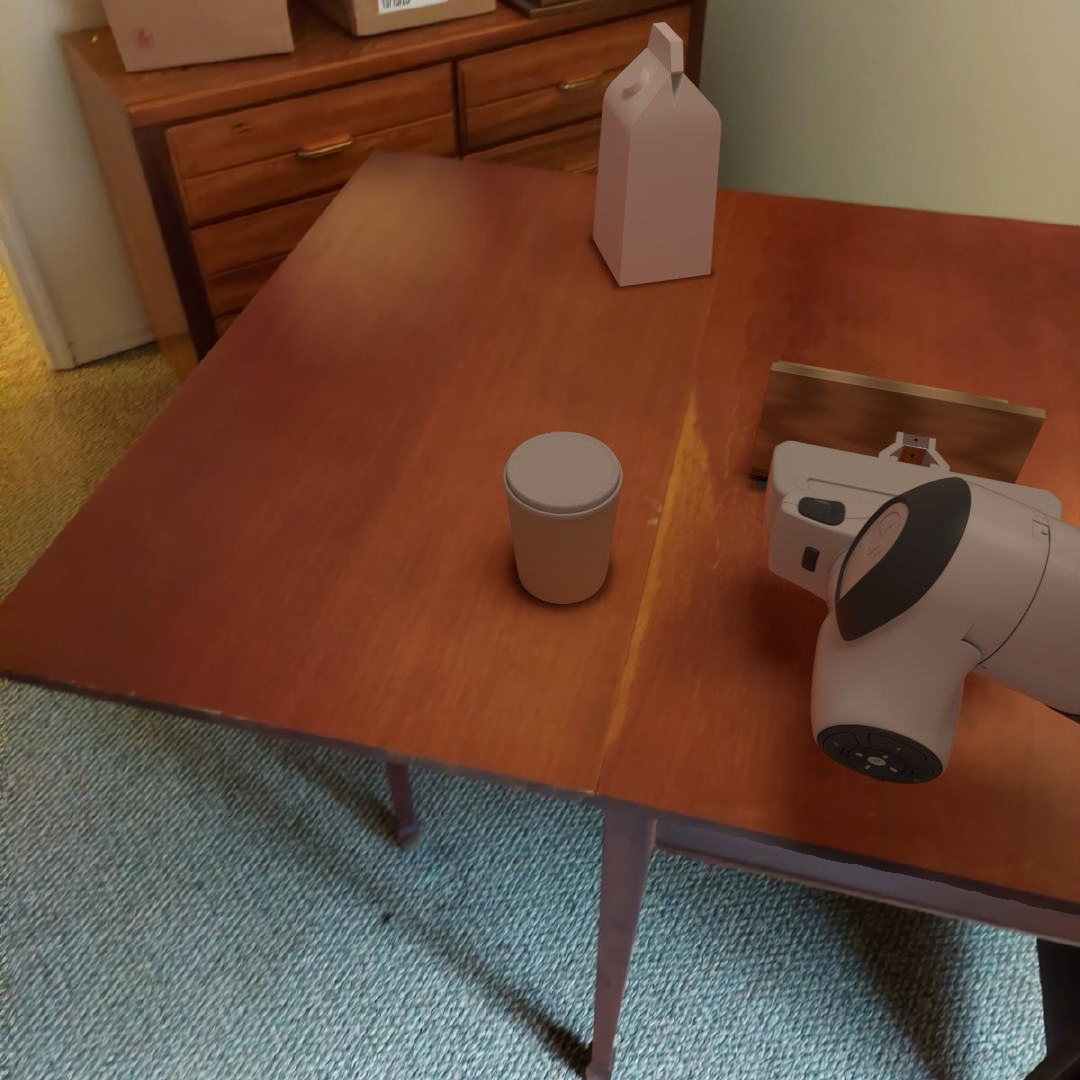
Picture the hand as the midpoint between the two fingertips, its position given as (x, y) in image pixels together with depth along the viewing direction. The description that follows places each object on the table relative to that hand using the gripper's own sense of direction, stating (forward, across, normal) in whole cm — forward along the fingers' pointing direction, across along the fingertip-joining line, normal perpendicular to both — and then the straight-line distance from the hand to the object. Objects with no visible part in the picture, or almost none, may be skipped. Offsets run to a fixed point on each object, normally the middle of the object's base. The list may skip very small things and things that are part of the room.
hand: (913, 441), depth 74 cm
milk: (+44, +32, +13) cm, 56 cm away
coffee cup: (-10, +25, +13) cm, 30 cm away
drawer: (+14, +1, +13) cm, 19 cm away
